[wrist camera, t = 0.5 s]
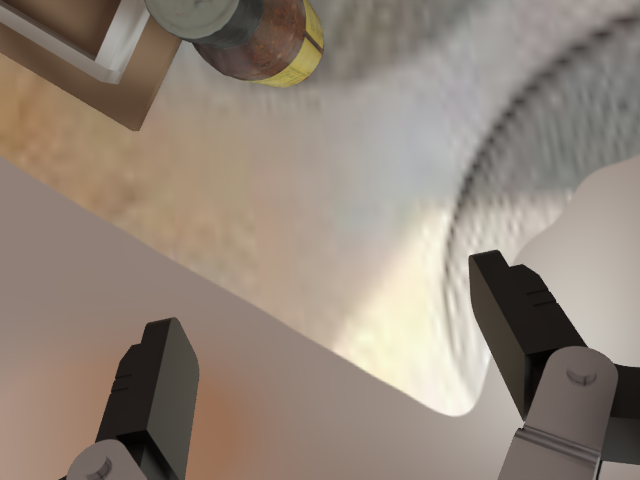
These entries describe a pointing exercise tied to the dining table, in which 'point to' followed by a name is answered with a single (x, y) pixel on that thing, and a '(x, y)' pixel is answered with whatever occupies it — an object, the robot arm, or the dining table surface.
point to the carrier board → (92, 51)
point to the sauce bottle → (248, 36)
